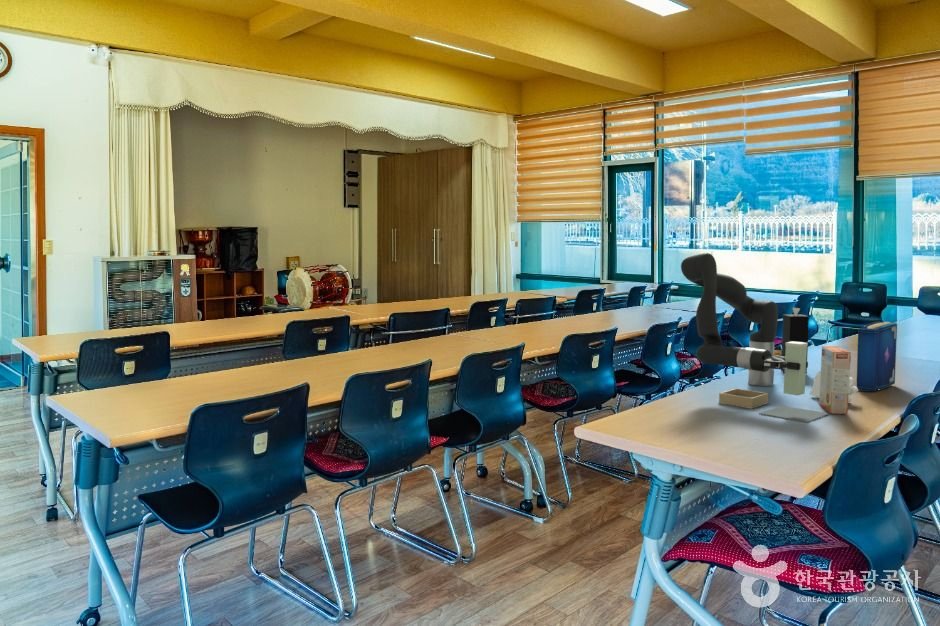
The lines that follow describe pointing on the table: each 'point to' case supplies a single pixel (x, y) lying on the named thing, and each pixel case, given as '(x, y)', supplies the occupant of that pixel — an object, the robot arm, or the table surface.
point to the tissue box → (794, 329)
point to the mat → (794, 414)
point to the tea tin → (795, 378)
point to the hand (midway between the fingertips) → (803, 365)
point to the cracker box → (835, 379)
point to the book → (876, 356)
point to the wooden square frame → (743, 398)
